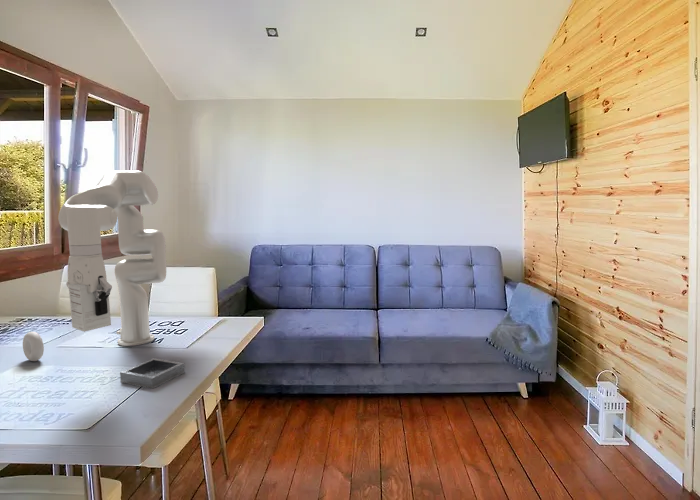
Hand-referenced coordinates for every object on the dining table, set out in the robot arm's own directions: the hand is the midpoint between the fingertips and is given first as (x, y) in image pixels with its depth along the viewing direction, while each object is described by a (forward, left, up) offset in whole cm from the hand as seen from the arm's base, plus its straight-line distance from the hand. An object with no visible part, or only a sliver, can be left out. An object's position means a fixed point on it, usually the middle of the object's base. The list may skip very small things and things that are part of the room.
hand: (90, 312), depth 119 cm
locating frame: (+10, +11, -22) cm, 26 cm away
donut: (-39, +8, -22) cm, 46 cm away
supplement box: (0, 0, -4) cm, 4 cm away
